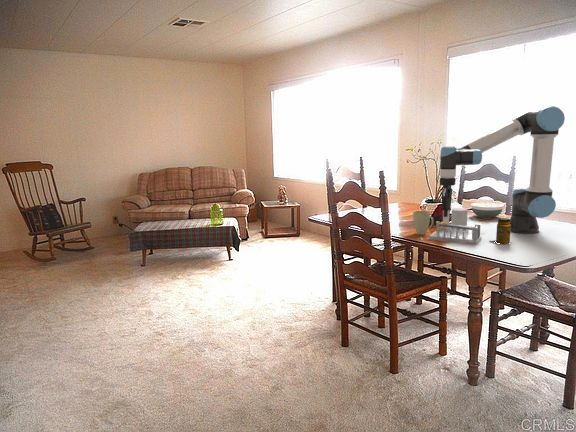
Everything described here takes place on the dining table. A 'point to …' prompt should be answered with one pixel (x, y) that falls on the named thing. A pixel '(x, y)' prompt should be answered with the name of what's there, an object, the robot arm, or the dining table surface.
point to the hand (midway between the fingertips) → (445, 222)
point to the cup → (459, 217)
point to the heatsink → (456, 235)
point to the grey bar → (457, 226)
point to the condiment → (503, 232)
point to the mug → (422, 221)
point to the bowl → (487, 209)
